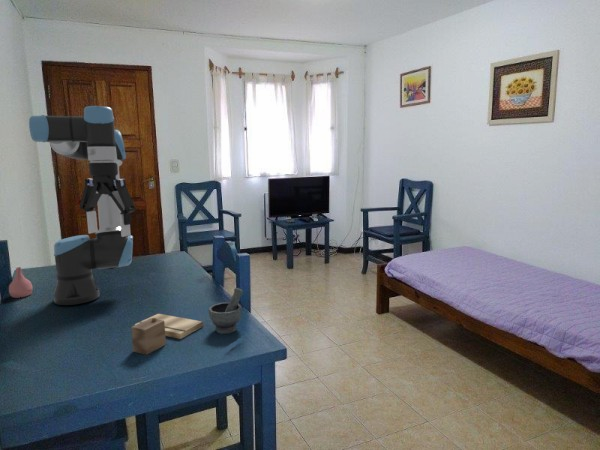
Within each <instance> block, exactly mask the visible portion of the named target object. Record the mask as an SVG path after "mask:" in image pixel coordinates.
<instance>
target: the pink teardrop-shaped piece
mask: <svg viewBox="0 0 600 450" xmlns="http://www.w3.org/2000/svg"><path fill="white" fill-rule="evenodd" d="M15 270H16V275H15V277H14V279H13V280H12V282H10V284H9V285H8V292H9V294H10V296H11V298H15V299H17V298H18V299H21V298H26V297H28V296H30V295H32V294H33V288H34V287H33V284H32V282H31V281H30V280H29V279H27V278H26V277H25V276H24V274H23V273H22V267H21V266H18V267H15ZM20 297H21V298H20Z"/></svg>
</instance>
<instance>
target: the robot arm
mask: <svg viewBox="0 0 600 450" xmlns="http://www.w3.org/2000/svg"><path fill="white" fill-rule="evenodd" d="M28 128H29V134H30V137H31V139H32V141H34V142H36V143H49V145H50V147H51V149H52V150H53V151H54V152H55V153H57V154H59V155H60V156H63V157H67V158H69V159H74V160H87V161H89V163H88V170H89V175H90V176H91V178H90V177H88V178H84V187H83V192H82V196H81V199H80V204H79V209H81V210H84V212H85V220H86V222H87V232H88V234H81V235H79V234H78V235H75V236H74V235H73V236H70V237H66V238H62V239H59V240H57V241H56V242H55V243H54V245H53V249H54V250H53V251H54V253H53V257H54V260H55V271H56V272H55V273H56V279H57V280H56V281H57V282H56V285H55V290H54V293H53V303H54V305H55V304H56V305H57V306H59V305H60V306H73V305H80V304H85V303H88V302H92V301H94V300H96V299H98V298H99V297H100V289H99V287H98V284H97V283H96V280H95V278H94V275H93V270H103V269H113V268H121V267H127V266H129V265H131V263H132V260H133V247H134V241H133V240H134V236H133V235H131V224H132V221H131V213H132V212H133V213H134V212H135V211H136V210H137V209H136V206H135V203H134V201H133V198H132V196H131V195H130V193H129V190H128V188H127V184H126V179H125V178H120V166H122V165H123V160H126V158H127V155H126V151H125V150H126V149H125V143H124V139H123V135H122V133H121V132H120V130H119V129H115V117H114V113H113V109H112V108H111V107H109V106H104V105H103V106H102V105H89V106H85V107H84V109H83V116H82V115H81V116H78V115H75V116H74V115H69V116H67V115H64V116H63V115H45V114H41V115H31V116H30V117H29V119H28ZM96 206H97V210H96V208H95V207H96ZM97 215H98V219H97ZM98 227H99V229H98ZM89 234H95V238H90V236H89Z"/></svg>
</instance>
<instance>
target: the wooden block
mask: <svg viewBox="0 0 600 450" xmlns="http://www.w3.org/2000/svg"><path fill="white" fill-rule="evenodd" d="M149 318H150V317H149ZM147 319H148V318H147ZM142 321H143V320H142ZM138 323H139V322H138ZM136 324H137V323H136ZM130 328H131V341H132V352H134V353H139V354H143V355H149V354H151V353H154V351H157V350H158V349H160V348H162V347H164V346H166V344H167V342H166V341H167V340H166V336H165V324H164V321H163V320H158V319H156V317H154V318H150V319H148V320H146V321H143V322H141V323H139V324H137V325H135V324H134V325H133V326H131V327H130Z"/></svg>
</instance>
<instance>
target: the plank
mask: <svg viewBox="0 0 600 450" xmlns="http://www.w3.org/2000/svg"><path fill="white" fill-rule="evenodd" d="M154 317H156V319H158V320H163V321H164V324H165V337H170V338H175V339H178V340H179V339H180V340H181V339H183V338H186V337H187V336H188V335H190V334H192V333H194V332H195V331H197V330H199V329H201V328H203V326H204V325H203V324H204V323H203V321H202V320H196V319H190V318H186V317H179V316H174V315H168V314H162V313H157V314H156V313H155V315H152V316H150V317H148V318H145V319H143V320H141V321H139V322H137V323H135V324H134V326H135V325H137V324H139V323H141V322H143V321H146V320H148V319H150V318H154Z"/></svg>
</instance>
